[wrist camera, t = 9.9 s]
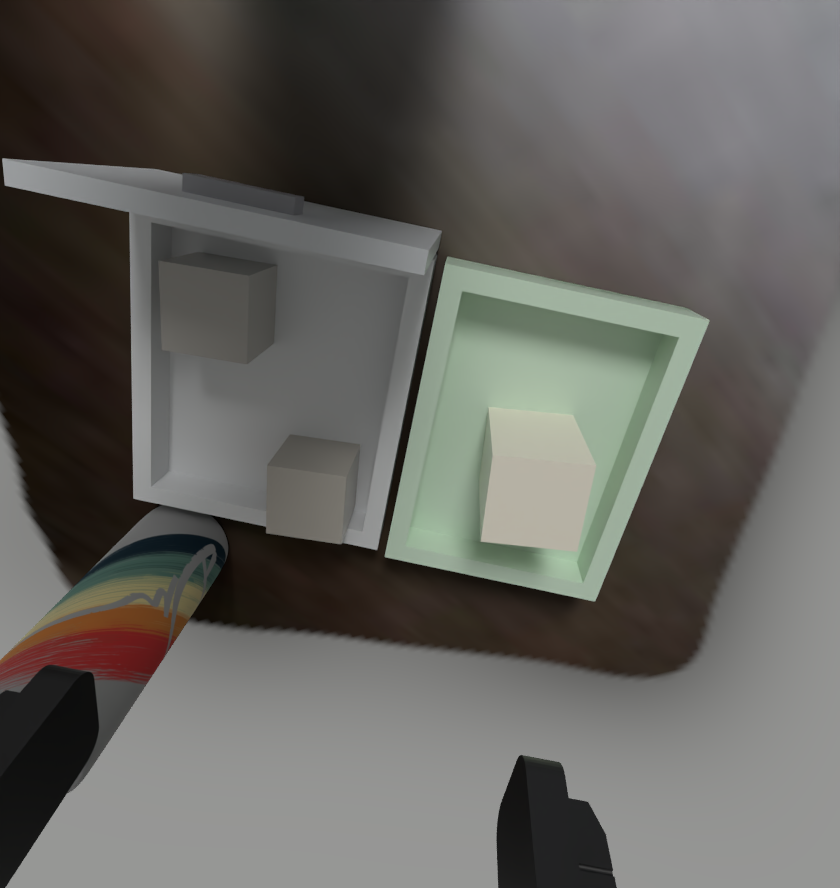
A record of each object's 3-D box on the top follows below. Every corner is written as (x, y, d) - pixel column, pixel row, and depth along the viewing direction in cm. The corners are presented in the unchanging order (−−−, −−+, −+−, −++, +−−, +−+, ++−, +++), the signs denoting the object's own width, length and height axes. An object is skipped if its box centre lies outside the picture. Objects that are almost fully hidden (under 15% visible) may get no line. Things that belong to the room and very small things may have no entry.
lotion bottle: (247, 562, 37) (25, 932, 18) (173, 586, 38) (-102, 955, 20) (200, 488, 35) (-100, 820, 16) (124, 516, 36) (-232, 854, 18)
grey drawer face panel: (157, 155, 27) (0, 137, 18) (444, 217, 27) (432, 230, 18) (156, 187, 28) (5, 185, 19) (438, 247, 28) (423, 275, 19)
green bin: (447, 256, 28) (445, 263, 25) (686, 307, 28) (709, 320, 25) (391, 528, 35) (384, 557, 32) (585, 569, 35) (595, 601, 32)
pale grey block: (290, 434, 32) (266, 465, 28) (360, 444, 32) (346, 476, 28) (288, 496, 34) (266, 533, 30) (355, 506, 34) (341, 544, 30)
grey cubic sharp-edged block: (198, 251, 28) (158, 260, 25) (277, 264, 28) (249, 275, 25) (199, 330, 30) (161, 350, 26) (274, 343, 30) (247, 364, 26)
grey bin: (157, 193, 28) (129, 194, 26) (437, 254, 28) (434, 259, 26) (155, 478, 35) (133, 498, 32) (383, 526, 35) (377, 550, 32)
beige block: (488, 406, 30) (492, 454, 25) (573, 415, 30) (596, 465, 24) (478, 481, 32) (480, 541, 26) (558, 489, 32) (577, 551, 26)
